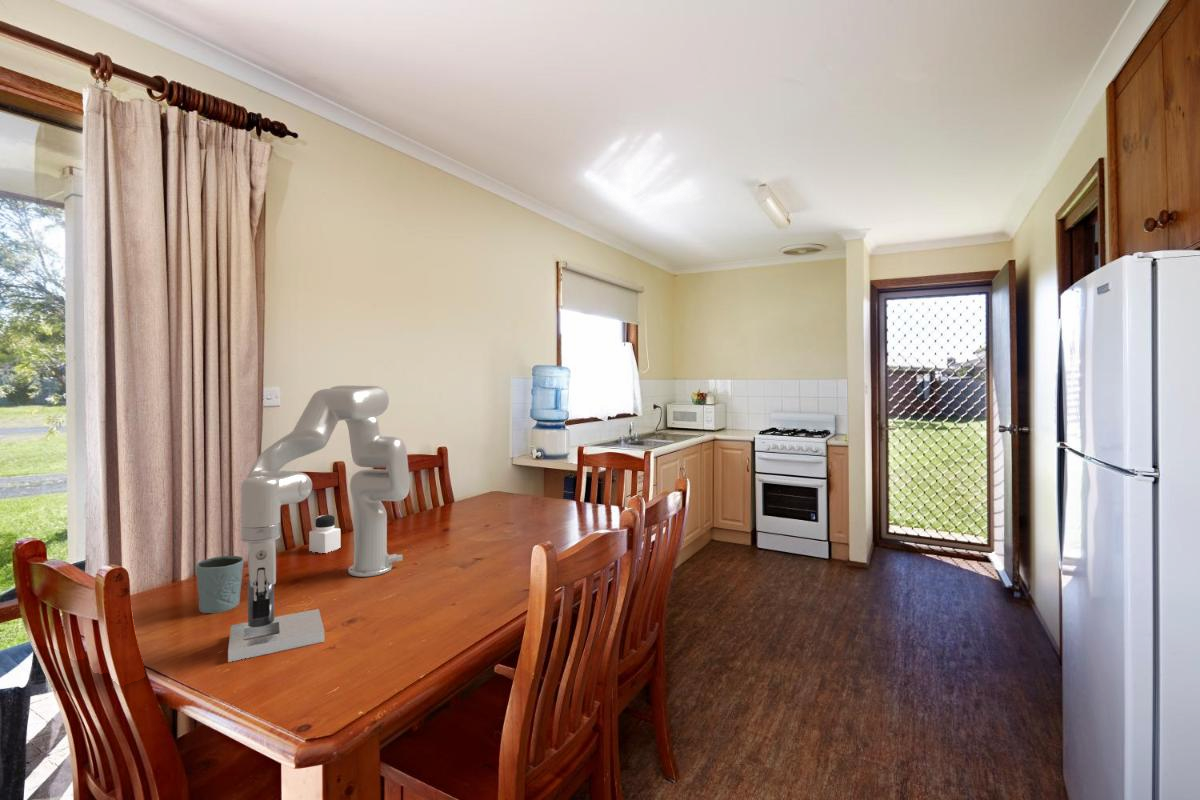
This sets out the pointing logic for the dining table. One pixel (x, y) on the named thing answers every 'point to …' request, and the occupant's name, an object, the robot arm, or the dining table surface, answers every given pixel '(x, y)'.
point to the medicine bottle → (325, 535)
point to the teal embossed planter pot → (219, 583)
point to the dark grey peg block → (252, 622)
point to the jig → (276, 635)
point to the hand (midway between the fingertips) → (261, 611)
